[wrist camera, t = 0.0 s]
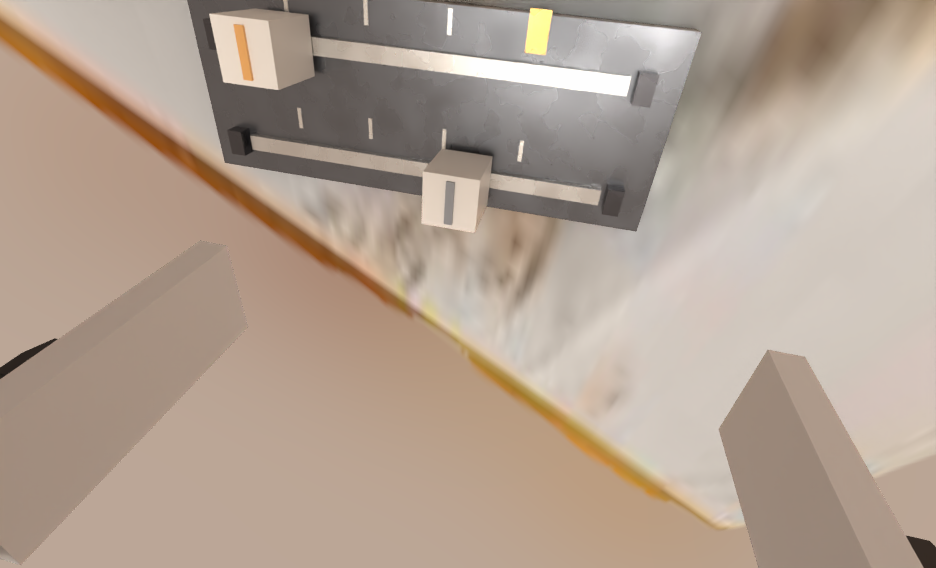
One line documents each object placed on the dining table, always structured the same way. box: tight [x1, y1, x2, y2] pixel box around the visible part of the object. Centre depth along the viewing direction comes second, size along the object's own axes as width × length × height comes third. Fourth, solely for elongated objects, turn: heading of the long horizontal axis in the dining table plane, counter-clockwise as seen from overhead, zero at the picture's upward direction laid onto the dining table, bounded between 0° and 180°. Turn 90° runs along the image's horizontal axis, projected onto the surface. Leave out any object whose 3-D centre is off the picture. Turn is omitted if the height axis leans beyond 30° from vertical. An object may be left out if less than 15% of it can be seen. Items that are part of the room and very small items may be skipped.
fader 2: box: [422, 149, 493, 233], centre depth 34 cm, size 4×4×5 cm
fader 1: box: [209, 8, 315, 90], centre depth 31 cm, size 4×4×5 cm
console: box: [187, 0, 702, 231], centre depth 35 cm, size 14×36×3 cm, turn 86°
